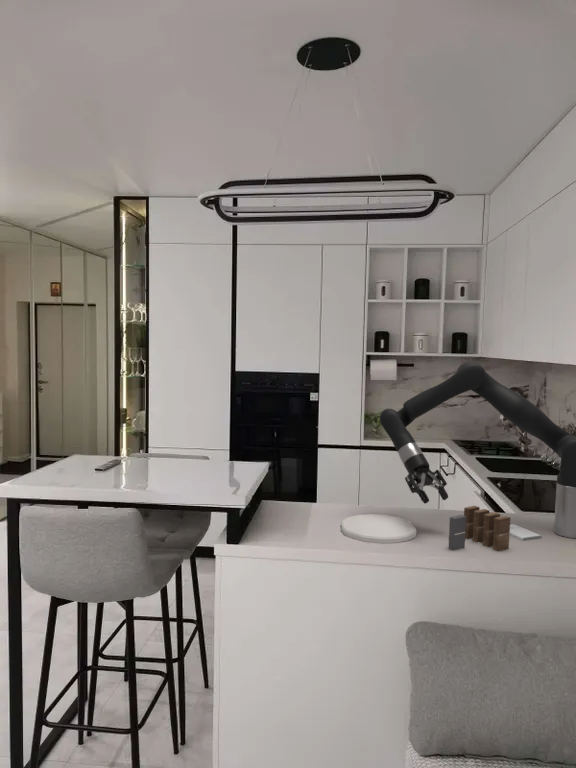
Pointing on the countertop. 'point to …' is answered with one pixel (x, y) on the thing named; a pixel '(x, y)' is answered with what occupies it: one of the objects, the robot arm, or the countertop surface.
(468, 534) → the domino
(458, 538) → the domino
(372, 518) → the decorative plate
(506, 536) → the domino
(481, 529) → the domino
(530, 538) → the external hard drive
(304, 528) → the countertop surface
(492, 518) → the domino
